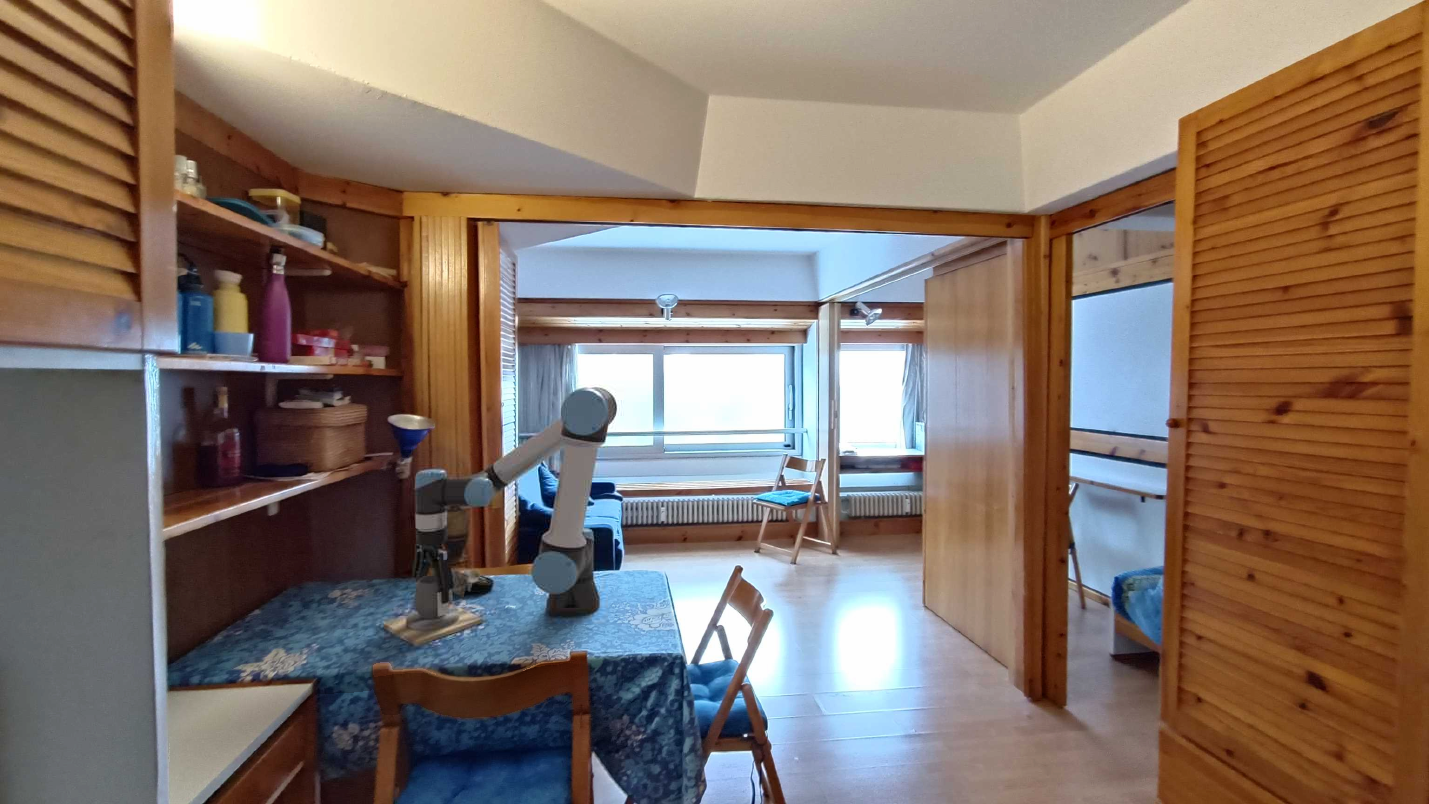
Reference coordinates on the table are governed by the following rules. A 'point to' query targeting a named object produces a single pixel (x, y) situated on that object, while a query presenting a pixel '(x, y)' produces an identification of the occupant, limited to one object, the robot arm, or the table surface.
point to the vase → (457, 532)
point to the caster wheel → (470, 582)
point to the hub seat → (431, 625)
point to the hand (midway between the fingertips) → (433, 609)
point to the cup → (428, 597)
